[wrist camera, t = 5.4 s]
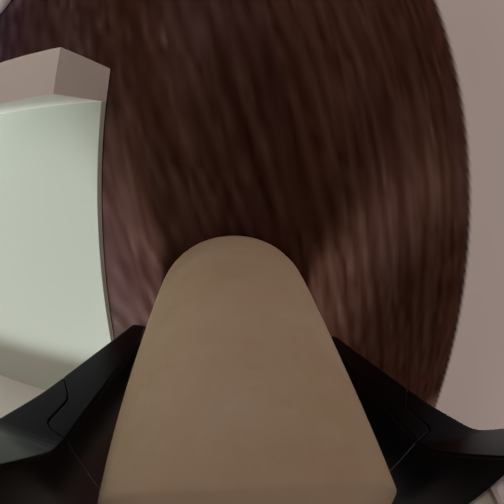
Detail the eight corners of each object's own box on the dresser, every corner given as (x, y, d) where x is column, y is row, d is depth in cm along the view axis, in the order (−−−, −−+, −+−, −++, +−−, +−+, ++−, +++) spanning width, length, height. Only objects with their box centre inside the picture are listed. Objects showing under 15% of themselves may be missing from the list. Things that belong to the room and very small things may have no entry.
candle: (326, 315, 12) (429, 549, 3) (215, 372, 13) (220, 595, 4) (258, 202, 10) (392, 569, 1) (132, 282, 11) (28, 551, 2)
